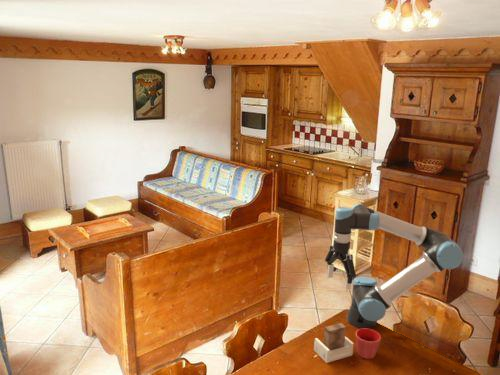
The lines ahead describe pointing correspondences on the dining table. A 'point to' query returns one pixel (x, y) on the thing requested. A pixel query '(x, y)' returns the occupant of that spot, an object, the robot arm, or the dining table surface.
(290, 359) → the dining table surface
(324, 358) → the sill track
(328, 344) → the walnut panel
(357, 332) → the flower pot
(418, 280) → the robot arm
